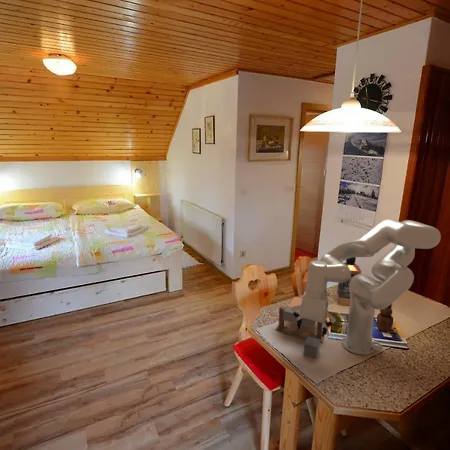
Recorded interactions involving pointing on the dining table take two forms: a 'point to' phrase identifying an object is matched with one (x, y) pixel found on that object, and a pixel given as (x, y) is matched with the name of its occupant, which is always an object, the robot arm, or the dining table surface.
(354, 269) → the whiskey bottle
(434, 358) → the dining table surface
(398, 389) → the dining table surface
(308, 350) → the grey cube
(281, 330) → the frame
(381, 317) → the wooden figurine
